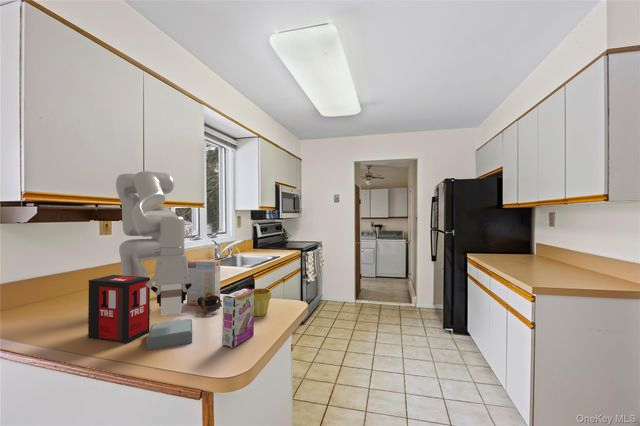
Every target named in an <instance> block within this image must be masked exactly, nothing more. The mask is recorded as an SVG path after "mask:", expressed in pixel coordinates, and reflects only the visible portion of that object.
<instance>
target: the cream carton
mask: <svg viewBox="0 0 640 426" xmlns="http://www.w3.org/2000/svg"><path fill="white" fill-rule="evenodd" d="M181 296H182V285H181V283H178V284H167V285H161V306H160V316H161V317H163V316H170V315H171V316H172V315H178V314H180V315H181V314H182V305H183V304H181Z"/></svg>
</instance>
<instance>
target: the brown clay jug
mask: <svg viewBox="0 0 640 426" xmlns="http://www.w3.org/2000/svg"><path fill="white" fill-rule="evenodd" d="M207 299H208V300H207ZM217 300H218V303H217ZM197 302H198V304H199V305H198V306H200V308H201V310H202V314H203V316H206V315H207V314H211V313H213V312H216V311H217V310H219V309H220V308H221V307H222V308H223V303H222V302H223V300H221V297H220V298H219V297H218V296H216V295H209V296H206V297H205V298H203V297H200V298H198V300H197Z"/></svg>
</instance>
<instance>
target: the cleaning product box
mask: <svg viewBox="0 0 640 426" xmlns="http://www.w3.org/2000/svg"><path fill="white" fill-rule="evenodd" d="M150 279H151V277H149V276H148V277H137V276H123V275H122V274H121V275H120V274H110V275H106V276H102V277H96V278H93V279H88V304H87V305H88V309H87V310H88V312H87V313H88V315H87V316H88V317H87V318H88V319H87V320H88V321H87V323H88V324H87V327H88V329H87V338H88V339H90V340H98V341H105V342H114V343H121V344H130V343H132V342H133V341H136V340H137V339H140V338H141V337H143V336H146V335H149V332H150V318H151V317H150V314H151V313H150V312H151V310H150V306H151V303H150V300H151V296H150V295H151V294H150V293H151V289H150V288H149V287H147V286H146V283H147V282H148V281H149V280H150Z"/></svg>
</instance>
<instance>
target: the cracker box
mask: <svg viewBox="0 0 640 426" xmlns="http://www.w3.org/2000/svg"><path fill="white" fill-rule="evenodd" d="M187 261H188V272H189V273H190V274H191V275H192V276H193V277H194V278H196V282H195V283H194V284H193V285H192V286H191V287H190V288H189V289H188V290H187V294H186V305H187V306H200V305H199V304H198V302H197V300H198V298H200V297H203V298H205V297H206V296H209V295H216V296H218V297H219V298H220V299H221V259H190V260H187ZM190 281H191V280H190V279H189V278H188V282H187V284H188V283H189V282H190ZM207 300H208V299H207ZM217 303H218V300H217Z"/></svg>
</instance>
